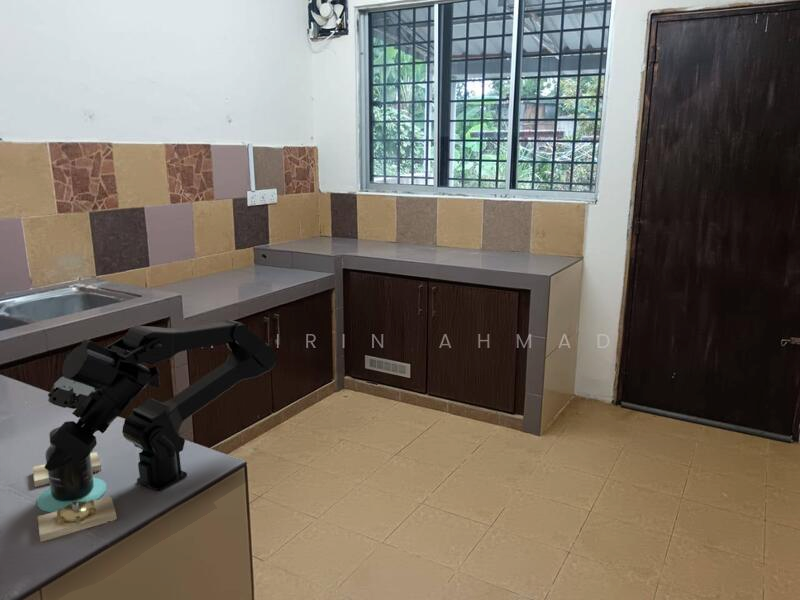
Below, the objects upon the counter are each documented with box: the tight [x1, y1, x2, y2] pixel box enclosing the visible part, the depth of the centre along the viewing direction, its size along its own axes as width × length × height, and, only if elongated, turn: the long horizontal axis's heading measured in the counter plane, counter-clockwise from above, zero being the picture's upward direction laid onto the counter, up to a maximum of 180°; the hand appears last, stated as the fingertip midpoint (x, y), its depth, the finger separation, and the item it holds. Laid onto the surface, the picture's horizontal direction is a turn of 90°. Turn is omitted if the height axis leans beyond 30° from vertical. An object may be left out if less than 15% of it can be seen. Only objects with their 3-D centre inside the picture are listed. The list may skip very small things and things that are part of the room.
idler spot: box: [36, 477, 107, 513], centre depth 109 cm, size 11×11×1 cm
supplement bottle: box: [45, 426, 94, 501], centre depth 108 cm, size 7×7×12 cm
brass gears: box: [57, 500, 96, 525], centre depth 108 cm, size 25×6×3 cm, turn 32°
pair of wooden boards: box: [32, 451, 118, 543], centre depth 109 cm, size 25×11×1 cm, turn 32°
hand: (57, 455), depth 107 cm, fingers open, 9 cm apart
